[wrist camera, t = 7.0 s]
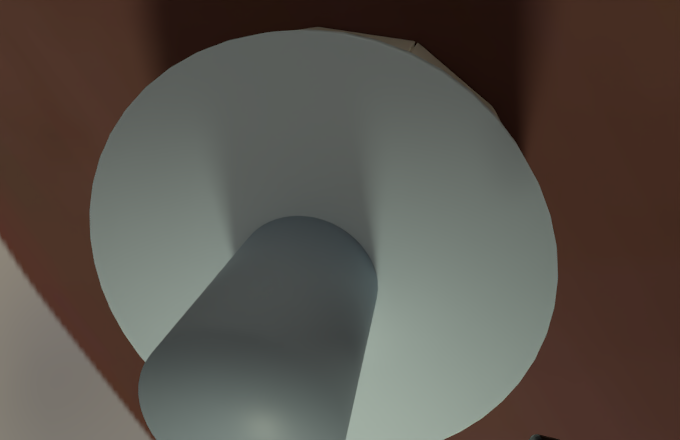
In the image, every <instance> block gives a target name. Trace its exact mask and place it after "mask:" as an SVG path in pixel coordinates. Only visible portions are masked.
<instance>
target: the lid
mask: <svg viewBox="0 0 680 440" xmlns="http://www.w3.org/2000/svg"><path fill="white" fill-rule="evenodd" d="M90 238H91V244H92V251H93V257H94V263H95V266H96V270H97V273H98V277H99V280H100V284H101V287H102V290H103V292H104V294H105V297H106V299H107V302H108V304H109V306H110V309H111V311H112V313H113V315H114V316H115V318H116V320H117V322H118V324H119V325H120V327H121V329H122V331H123V333H124V334H125V336H126V337H127V338H128V340H129V341H130V343H131V344H132V346H133V347H134V348H135V350H136V351H137V353H138V354H139V355H140V356H141V358H142V359H143V360H144V361H145V364H144V366H143V369H142V371H141V374H140V379H139V392H138V394H139V401H140V406H141V410H142V413H143V416H144V418H145V421H146V423H147V425H148V427H149V429H150V430H151V432H152V434H153V436H154V437H155V438H156V440H444V439H446V438H448V437H450V436H452V435H454V434H457V433H459V432H461V431H462V430H464V429H465V428H467V427H469V426H470V425H472V424H473V423H475V422H477V421H478V420H480V419H481V418H483V417H484V416H485V415H486V414H488V413H489V412H490V411H491V410H492V409H494V408H495V407H496V406H497V405H498V404H500V403H501V402H502V401H503V400H504V399H505V398H506V397H507V396H508V394H509V393H510V392H511V391H512V390H513V389H514V388H515V387H516V386H517V385H518V383H519V382H520V381H521V379H522V378H523V376H524V375H525V373H526V372H527V370H528V369H529V367H530V366H531V365H532V363H533V362H534V360H535V358H536V356H537V354H538V352H539V350H540V347H541V345H542V343H543V341H544V339H545V337H546V334H547V331H548V328H549V324H550V320H551V317H552V313H553V310H554V306H555V297H556V289H557V281H558V269H557V246H556V241H555V236H554V231H553V226H552V221H551V216H550V213H549V210H548V208H547V205H546V202H545V199H544V197H543V194H542V191H541V189H540V186H539V183H538V181H537V180H536V178H535V176H534V174H533V172H532V171H531V169H530V167H529V165H528V163H527V161H526V160H525V158H524V156H523V154H522V152H521V151H520V149H519V147H518V145H517V143H516V142H515V140H514V139H513V138H512V136H511V135H510V134H509V132H508V131H507V130H506V128H505V127H504V126H503V125H502V123H501V122H500V121H499V119H498V118H497V117H496V115H495V114H494V113H493V112H492V111H491V110H490V109H489V108H488V107H487V106H486V105H485V104H484V103H483V102H482V101H481V100H480V99H479V98H478V97H477V96H476V95H475V94H474V93H473V92H472V91H470V90H469V89H468V88H466V87H465V86H464V85H462V84H461V83H460V82H458V81H457V80H456V79H454V78H453V77H452V76H450V75H449V74H448V73H446V72H445V71H444V70H442V69H440V68H439V67H437V66H435V65H433V64H431V63H429V62H428V61H426V60H424V59H422V58H420V57H418V56H417V55H415V54H413V53H411V52H409V51H406V50H403V49H401V48H398V47H395V46H393V45H390V44H387V43H385V42H382V41H380V40H376V39H372V38H368V37H363V36H359V35H354V34H350V33H345V32H337V31H324V30H312V29H305V30H289V31H275V32H267V33H261V34H256V35H252V36H247V37H242V38H238V39H233V40H228V41H226V42H223V43H220V44H218V45H215V46H212V47H210V48H207V49H205V50H202V51H199V52H197V53H195V54H193V55H192V56H190V57H188V58H186V59H185V60H183V61H181V62H179V63H178V64H176V65H174V66H172V67H171V68H169V69H168V70H167V71H165V72H164V73H163V74H162V75H160V76H159V77H158V78H157V79H155V80H154V81H153V82H152V83H150V84H149V85H148V86H147V87H146V88H145V89H144V90H143V91H142V92H141V93H140V94H139V95H138V96H137V98H136V99H135V100H134V101H133V102H132V103H131V104H130V105H129V107H128V108H127V109H126V110H125V112H124V113H123V115H122V116H121V118H120V119H119V121H118V123H117V124H116V126H115V127H114V129H113V130H112V132H111V134H110V136H109V138H108V141H107V143H106V145H105V147H104V150H103V152H102V154H101V156H100V159H99V163H98V167H97V170H96V174H95V178H94V181H93V187H92V195H91V204H90Z"/></svg>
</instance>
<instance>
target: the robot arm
mask: <svg viewBox="0 0 680 440" xmlns="http://www.w3.org/2000/svg"><path fill="white" fill-rule="evenodd" d="M529 440H559V439H555V438H551V437H547V436H543V435H538V434H536V435H532V436H531V438H530V439H529Z"/></svg>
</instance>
